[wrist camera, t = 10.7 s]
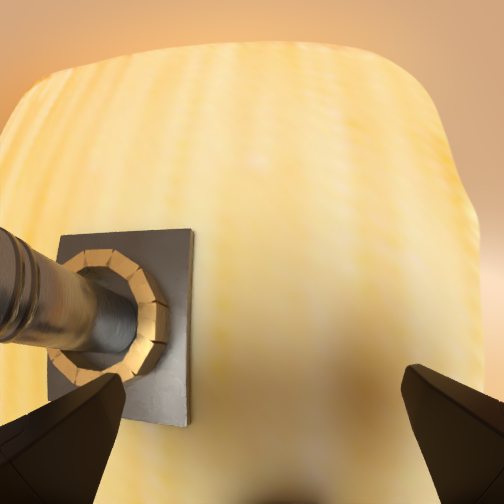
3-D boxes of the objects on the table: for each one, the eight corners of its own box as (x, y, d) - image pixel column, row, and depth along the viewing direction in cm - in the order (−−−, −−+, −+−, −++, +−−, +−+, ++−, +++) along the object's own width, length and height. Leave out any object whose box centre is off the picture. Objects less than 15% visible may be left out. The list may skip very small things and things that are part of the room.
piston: (112, 368, 19) (-32, 362, 7) (73, 324, 20) (-63, 282, 8) (150, 320, 20) (21, 267, 8) (108, 278, 21) (-16, 199, 9)
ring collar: (190, 423, 19) (176, 435, 15) (55, 399, 19) (28, 402, 16) (194, 233, 23) (182, 213, 20) (66, 239, 24) (44, 224, 20)
